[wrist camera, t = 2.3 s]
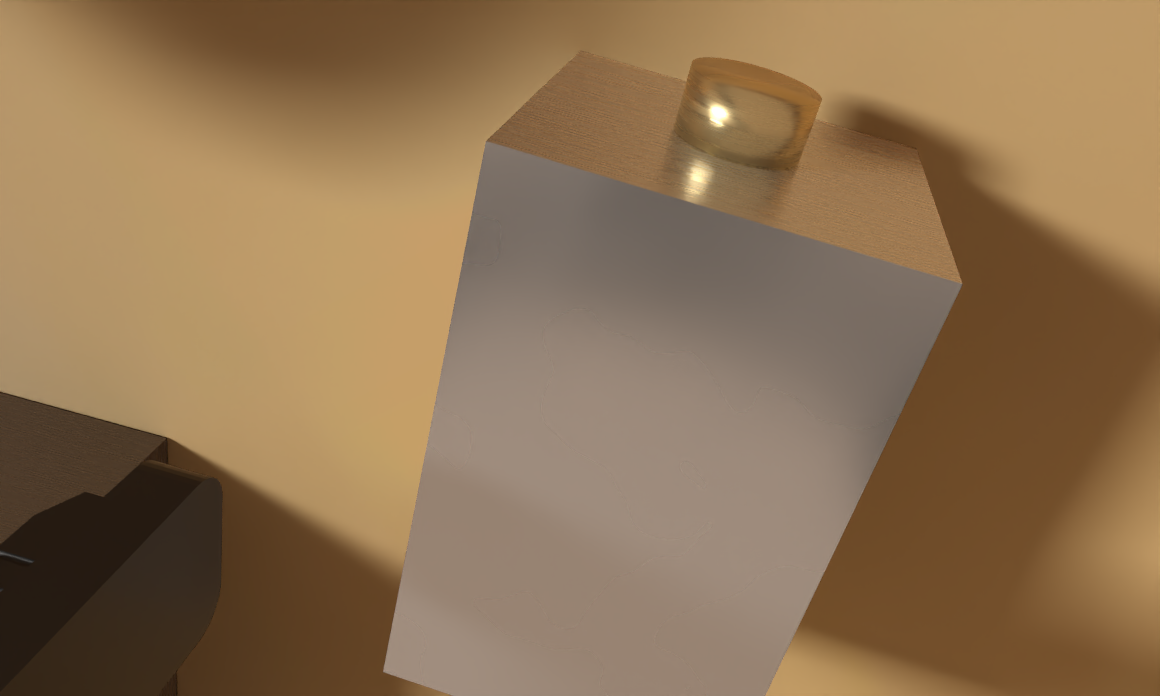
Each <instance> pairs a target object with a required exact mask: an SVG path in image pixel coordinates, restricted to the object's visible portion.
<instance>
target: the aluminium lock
mask: <svg viewBox="0 0 1160 696" xmlns="http://www.w3.org/2000/svg"><path fill="white" fill-rule="evenodd" d="M821 101H822V98H821V96H820V95H819V94H818V93H817V92H816V91H815V90H813V89H812V88H810V87H809V86H807V85H805V84H803V83H801V82H799V81H797V80H795V79H793V78H791V77H788V76H786V75H783V74H781V73H778V72H775V71H772V70H769V69H766V68H763V67H759V66H756V65H752V64H748V63H744V62H739V61H734V60H729V59H722V58H710V57H705V58H697V59H695V60H693V61H692V64H691V68H690V71H689V74H688V78H687V81H683V80H679V79H676V78H672V77H669V76H666V75H662V74H659V73H655V72H652V71H648V70H645V69H642V68H638V67H635V66H631V65H628V64H624V63H621V62H618V61H614V60H611V59H607V58H604V57H601V56H597V55H594V54H590V53H587V52H583V51H580V52H578V53H577V54H576V55H575V56H574V57H573V58H572V59H571V60H570V61H569V62H568V63H567V64H566V65H565V66H564V67H563V68H562V69H561V70H560V71H559V72H558V73H557V74H556V75H554V76H553V77H552V78H551V79H550V80H549V81H548V82H547V83H546V84H545V85H544V86H543V87H542V88H541V89H540V90H539V91H538V92H537V93H536V94H535V95H534V96H533V97H532V98H530V99H529V100H528V101H527V102H526V103H525V104H524V105H523V106H522V107H521V108H520V109H519V110H518V111H517V112H516V113H515V114H514V115H513V116H512V117H511V118H510V119H509V120H508V121H506V122H505V123H504V124H503V125H502V126H501V127H500V128H499V129H498V130H497V131H496V132H495V133H494V134H493V135H492V136H491V137H490V138H489V139H488V140H487V141H486V144H485V149H484V154H483V159H482V165H481V170H480V175H479V180H478V185H477V190H476V196H475V201H474V206H473V211H472V216H471V221H470V226H469V232H468V237H467V242H466V247H465V252H464V257H463V263H462V268H461V273H460V278H459V283H458V288H457V293H456V299H455V304H454V309H453V314H452V319H451V324H450V330H449V335H448V340H447V345H446V350H445V355H444V360H443V366H442V371H441V376H440V381H439V386H438V391H437V397H436V402H435V407H434V412H433V417H432V422H431V427H430V433H429V438H428V443H427V448H426V453H425V458H424V464H423V469H422V474H421V479H420V484H419V489H418V494H417V500H416V505H415V510H414V515H413V520H412V525H411V531H410V536H409V541H408V546H407V551H406V556H405V561H404V567H403V572H402V577H401V582H400V587H399V592H398V598H397V603H396V608H395V613H394V618H393V623H392V628H391V634H390V639H389V644H388V649H387V654H386V659H385V665H384V670H383V672H385V673H388V674H390V675H393V676H396V677H399V678H402V679H405V680H408V681H411V682H414V683H417V684H420V685H423V686H426V687H429V688H432V689H435V690H438V691H441V692H444V693H447V694H449V695H452V696H765V695H766V693H767V691H768V689H769V686H770V684H771V682H772V680H773V678H774V676H775V674H776V672H777V670H778V668H779V666H780V664H781V661H782V659H783V657H784V655H785V653H786V651H787V649H788V647H789V645H790V643H791V641H792V639H793V637H794V634H795V632H796V630H797V628H798V626H799V624H800V622H801V620H802V618H803V616H804V614H805V612H806V609H807V607H808V605H809V603H810V601H811V599H812V597H813V595H814V593H815V591H816V589H817V587H818V584H819V582H820V580H821V578H822V576H823V574H824V572H825V570H826V568H827V566H828V564H829V562H830V559H831V557H832V555H833V553H834V551H835V549H836V547H837V545H838V543H839V541H840V539H841V537H842V534H843V532H844V530H845V528H846V526H847V524H848V522H849V520H850V518H851V516H852V514H853V512H854V509H855V507H856V505H857V503H858V501H859V499H860V497H861V495H862V493H863V491H864V489H865V487H866V484H867V482H868V480H869V478H870V476H871V474H872V472H873V470H874V468H875V466H876V464H877V462H878V459H879V457H880V455H881V453H882V451H883V449H884V447H885V445H886V443H887V441H888V439H889V437H890V434H891V432H892V430H893V428H894V426H895V424H896V422H897V420H898V418H899V416H900V414H901V412H902V409H903V407H904V405H905V403H906V401H907V399H908V397H909V395H910V393H911V391H912V389H913V387H914V384H915V382H916V380H917V378H918V376H919V374H920V372H921V370H922V368H923V366H924V364H925V362H926V359H927V357H928V355H929V353H930V351H931V349H932V347H933V345H934V343H935V341H936V339H937V337H938V334H939V332H940V330H941V328H942V326H943V324H944V322H945V320H946V318H947V316H948V314H949V312H950V309H951V307H952V305H953V303H954V301H955V299H956V297H957V295H958V293H959V291H960V289H961V287H962V281H961V278H960V275H959V272H958V269H957V266H956V263H955V260H954V257H953V254H952V251H951V249H950V246H949V243H948V240H947V237H946V234H945V231H944V228H943V225H942V222H941V219H940V216H939V214H938V211H937V208H936V205H935V202H934V199H933V196H932V193H931V190H930V187H929V184H928V181H927V179H926V176H925V173H924V170H923V167H922V164H921V161H920V158H919V155H918V152H917V149H916V148H912V147H909V146H906V145H902V144H899V143H895V142H892V141H888V140H885V139H882V138H878V137H875V136H871V135H868V134H864V133H861V132H858V131H854V130H851V129H847V128H844V127H840V126H837V125H834V124H830V123H827V122H823V121H820V120H816V119H815V118H816V115H817V112H818V109H819V107H820V104H821Z"/></svg>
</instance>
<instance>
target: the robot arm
mask: <svg viewBox="0 0 1160 696" xmlns="http://www.w3.org/2000/svg"><path fill="white" fill-rule="evenodd" d="M222 498H223V497H222V487H221V484H220V482H219V481H218V480H217V479H216V478H213V477H209V476H206V475H203V474H199V473H196V472H192V471H189V470H185V469H182V468H178V467H175V466H172V465H168V464H165V463H161V462H158V461H154V460H148V461H145V462H143V463H141V464H140V465H138V466H137V467H136V468H135V469H134V470H132V471H131V472H130V473H129V474H128V475H127V476H126V477H125V478H124V479H123V480H122V481H121V482H119V483H118V484H117V485H116V486H115V487H114V488H113V489H112V490H111V491H110V492H109V493H107V494H106V495H105V496H104V497H102V496H98V495H95V494H91V493H88V492H84V493H82V494H79V495H77V496H75V497H73V498H71V499H68V500H66V501H64V502H62V503H60V504H57V505H55V506H53V507H51V508H49V509H46V510H44V511H42V512H40V513H38V514H36V515H34V516H33V517H31V518H30V519H29V520H28V521H27V522H26V523H24V524H23V525H22V526H21V527H20V528H19V529H18V530H16V531H15V532H14V533H13V534H12V535H11V536H9V537H8V538H7V539H6V540H5V541H4V542H2V543H1V544H0V696H158V694H159V693H160V692H161V690H162V689H163V688H164V686H165V685H166V684H167V682H168V681H169V680H170V679H171V677H172V676H173V675H174V673H175V672H176V671H177V669H178V668H179V667H180V666H181V664H182V663H183V662H184V660H185V659H186V658H187V656H188V655H189V654H190V653H191V651H192V650H193V649H194V647H195V646H196V645H197V643H198V642H199V641H200V639H201V638H202V636H203V634H204V633H205V631H206V629H207V627H208V625H209V623H210V621H211V619H212V616H213V614H214V611H215V608H216V605H217V602H218V598H219V594H220V588H221V555H222Z"/></svg>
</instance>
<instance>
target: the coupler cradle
mask: <svg viewBox="0 0 1160 696" xmlns="http://www.w3.org/2000/svg"><path fill="white" fill-rule="evenodd" d="M148 460H154V461H158V462H161V463H165V464H167V439H166V438H164V437H160V436H156V435H153V434H149V433H145V432H142V431H138V430H134V429H131V428H127V427H123V426H120V425H116V424H112V423H109V422H105V421H102V420H98V419H94V418H91V417H87V416H83V415H80V414H76V413H72V412H69V411H65V410H61V409H58V408H54V407H51V406H47V405H43V404H40V403H36V402H32V401H29V400H25V399H21V398H18V397H14V396H10V395H7V394H3V393H0V544H1V543H2V542H4V541H5V540H6V539H7V538H8V537H9V536H11V535H12V534H13V533H14V532H15V531H16V530H18V529H19V528H20V527H21V526H22V525H23V524H24V523H26V522H27V521H28V520H29V519H30V518H31V517H33V516H34V515H36V514H38V513H40V512H42V511H44V510H46V509H49V508H51V507H53V506H55V505H57V504H60V503H62V502H64V501H66V500H68V499H71V498H73V497H75V496H77V495H79V494H82V493H84V492H88V493H91V494H95V495H98V496H102V497H104V496H105V495H106V494H107V493H109V492H110V491H111V490H112V489H113V488H114V487H115V486H116V485H117V484H118V483H119V482H121V481H122V480H123V479H124V478H125V477H126V476H127V475H128V474H129V473H130V472H131V471H132V470H134V469H135V468H136V467H137V466H138V465H140V464H141V463H143V462H145V461H148ZM158 696H177V686H176V672H175V673H174V675H173V676H172V677H171V679H170V680H169V681H168V682H167V684H166V685H165V686H164V688H163V689H162V690H161V692H160V693H159V694H158Z"/></svg>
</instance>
